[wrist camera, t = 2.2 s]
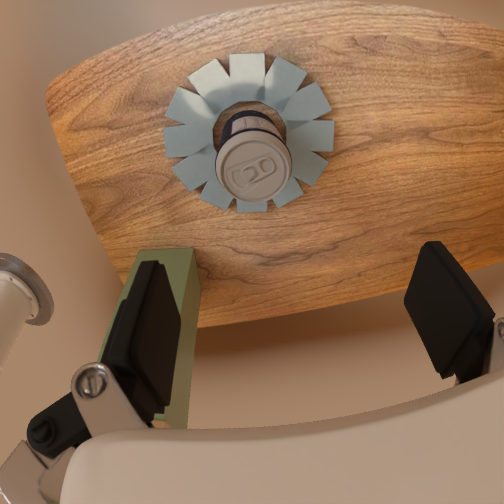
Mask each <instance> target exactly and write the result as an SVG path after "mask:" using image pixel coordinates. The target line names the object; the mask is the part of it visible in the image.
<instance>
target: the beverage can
mask: <svg viewBox="0 0 504 504" xmlns="http://www.w3.org/2000/svg"><path fill="white" fill-rule="evenodd" d="M215 172H216V176H217V179H218V181H219V183H220V184H221V186H222V187H223V188H224V189H225V190H226V191H227V192H228V193H229V194H230V195H231V196H232V197H233V198H235V199H237V200H239V201H242V202H245V203H252V204H256V203H263V202H266V201H269V200H271V199H273V198H274V197H276V196H277V195H278V194H279V193H280V192H281V191H282V190H283V189H284V187H285V186H286V184H287V182H288V180H289V178H290V175H291V172H292V158H291V154H290V151H289V149H288V147H287V146H286V144H285V142H284V140H283V139H282V137H281V135H280V133H279V132H278V130H277V128H276V127H275V125H274V123H273V122H272V120H271V119H270V118H269V117H268V116H266V115H265V114H263V113H261V112H258V111H252V110H247V111H242V112H239V113H237V114H235V115H233V116H232V117H231V118H230V119H229V120H228V121H227V123H226V124H225V126H224V129H223V132H222V136H221V140H220V144H219V147H218V151H217V155H216V159H215Z"/></svg>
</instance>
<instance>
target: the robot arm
mask: <svg viewBox="0 0 504 504" xmlns="http://www.w3.org/2000/svg"><path fill="white" fill-rule="evenodd" d="M404 305H405V307H406V309H407V311H408V313H409V315H410V317H411V319H412V321H413V323H414V325H415V327H416V329H417V331H418V333H419V335H420V337H421V339H422V341H423V343H424V346H425V348H426V350H427V352H428V354H429V357H430V359H431V361H432V363H433V365H434V368H435V370H436V371H437V372H438V373H440V375H441V378H442V379H445V378H448V377H451V376H453V375H454V373H455V375H456V381H455V385H454V387H452V388H449V389H447V390H443V391H441V392H438V393H435V394H432V395H429V396H425V397H422V398H419V399H416V400H412V401H409V402H405V403H402V404H398V405H394V406H390V407H386V408H382V409H378V410H374V411H369V412H365V413H360V414H355V415H350V416H345V417H339V418H333V419H327V420H321V421H314V422H306V423H298V424H290V425H280V426H269V427H253V428H227V429H181V428H156V427H155V426H154V424H153V423H152V421H153V420H154V415H155V414H164V411H165V406H169V405H170V401H171V393H172V385H173V378H174V370H175V363H176V356H177V350H178V343H179V337H180V331H181V317H180V314H179V311H178V308H177V304H176V301H175V298H174V295H173V292H172V288H171V285H170V282H169V279H168V275H167V272H166V268H165V265H164V264H160V263H159V261H158V260H149V261H141V263H140V265H139V267H138V270H137V272H136V275H135V277H134V280H133V283H132V285H131V288H130V290H129V293H128V296H127V298H126V299H124V300H122V301H121V303H120V306H119V308H118V311H117V314H116V316H115V319H114V322H113V325H112V328H111V330H110V333H109V336H108V339H107V342H106V345H105V348H104V351H103V354H102V357H101V361H100V363H98V362H92V363H88V364H85V365H83V366H82V367H80V368H79V369H78V370H77V372H76V373H75V374H74V376H73V378H72V380H71V392H70V393H69V394H67V395H66V396H64V397H63V398H61V399H60V400H58V401H56V402H55V403H54V404H52V405H51V406H49V407H48V408H46V409H45V410H43V411H42V412H40V413H39V414H37V415H36V416H35V417H34V418H32V419H31V421H30V423H29V424H28V428H27V440H26V441H24V440H22V441H21V442H20V443H19V444H18V446H17V447H16V448H15V450H14V451H13V452H12V453H11V455H10V456H9V457H8V458H7V460H6V461H5V462H4V464H3V465H2V466H1V468H0V493H1V494H2V496H3V497H4V499H5V500H6V501H7V502H8V504H504V318H499V319H497V320H496V322H495V323H494V322H493V318H494V317H495V313H494V312H493V310H492V308H491V307H490V305H489V304H488V302H487V301H486V299H485V298H484V297H483V295H482V294H481V292H480V291H479V290H478V288H477V287H476V285H475V284H474V283H473V281H472V280H471V279H470V278H469V276H468V275H467V273H466V272H465V271H464V270H463V268H462V267H461V266H460V264H459V263H458V262H457V261H456V259H455V258H454V257H453V256H452V254H451V253H450V252H449V251H448V250H447V248H446V247H445V246H444V245H443V244H442V243H441V242H440V241H429V242H426V243H425V244H424V246H422V247H421V249H420V253H419V256H418V259H417V262H416V265H415V268H414V271H413V274H412V277H411V280H410V283H409V286H408V289H407V292H406V294H405V297H404ZM38 312H39V303H38V301H37V298H36V296H35V294H34V293H33V291H32V290H31V289H30V288H29V286H28V285H27V284H26V283H25V282H24V281H23V280H22V279H20V278H19V277H18V276H16V275H15V274H13V273H11V272H8V271H3V270H1V271H0V373H1V370H2V368H3V366H4V364H5V362H6V359H7V357H8V355H9V353H10V351H11V349H12V346H13V344H14V343H15V341H16V338H17V337H18V335H19V333H20V331H21V329H22V327H23V325H24V323H25V321H26V320H27V319H34V318H35V317H36V316H37V314H38Z"/></svg>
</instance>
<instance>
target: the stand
mask: <svg viewBox="0 0 504 504" xmlns="http://www.w3.org/2000/svg"><path fill="white" fill-rule="evenodd" d="M149 260H158V261H159V263H160V264H164V265H165V268H166V272H167V275H168V279H169V282H170V285H171V288H172V292H173V295H174V298H175V301H176V304H177V308H178V311H179V314H180V317H181V331H180V337H179V343H178V350H177V356H176V363H175V370H174V378H173V385H172V393H171V401H170V405H169V406H165V411H164V414H155V415H154V420H153V421H152V423H153V424H154V426H155V427H156V428H181V429H187V422H188V409H189V397H190V387H191V377H192V367H193V357H194V348H195V339H196V330H197V322H198V314H199V306H200V298H201V291H202V290H201V285H200V280H199V274H198V269H197V263H196V258H195V252H194V248H175V249H155V250H140V251H139V253H138V255H137V257H136V260H135V262H134V264H133V267H132V269H131V271H130V274H129V276H128V278H127V281H126V283H125V286H124V288H123V291H122V293H121V296H120V298H119V301H118V303H117V306H116V309H115V311H114V314H113V316H112V319H111V322H110V324H109V327H108V330H107V333H106V336H105V338H104V341H103V344H102V347H101V350H100V353H99V356H98V360H97V362H98V363H100V361H101V357H102V354H103V351H104V348H105V345H106V342H107V339H108V336H109V333H110V330H111V328H112V325H113V322H114V319H115V316H116V314H117V311H118V308H119V306H120V303H121V301H122V300H124V299H126V298H127V296H128V293H129V290H130V288H131V285H132V283H133V280H134V277H135V275H136V272H137V270H138V267H139V265H140V263H141V261H149Z"/></svg>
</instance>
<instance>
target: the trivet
mask: <svg viewBox="0 0 504 504" xmlns="http://www.w3.org/2000/svg"><path fill="white" fill-rule="evenodd" d="M229 72H230V76H229V74H228V73H227V72H226V70H225V69H224V67H223V66H222V65H221V63H220V62H219V60H218V59H217V58H215V59H214V60H212V61H210V62H209V63H207V64H206V65H204V66H202V67H201V68H199V69H198V70H196V71H195V72H193V73H192V74H190V75H189V76H187V78H188V80H189V81H190V82H191V84H192V85H193V86H194V88H195V89H196V90H197V92H198V93H199V94H198V93H196V92H194V91H191V90H189V89H186V88H184V87H181V86H179V87H178V88H177V91H176V93H175V95H174V97H173V99H172V101H171V103H170V105H169V108H168V110H167V112H166V114H165V117H168V118H170V119H173V120H175V121H177V122H180V123H182V124H178V125H170V126H165V127H164V128H163V132H164V140H165V148H166V155H167V158H175V157H185V156H186V157H185V158H184V159H182V160H181V161H179V162H178V163H176V164H175V165H174V166H173V167H172V170H173V171H174V173H175V174H176V175H177V176H178V178H179V179H180V180H181V181H182V183H183V184H184V185H185V186H186V188H187V189H188V190H189V191H190V192H191V191H193V190H194V189H196V188H197V187H199V186H200V185H202V184H203V183H205V182H206V181H207V182H206V184H205V186H204V188H203V190H202V192H201V194H200V197H199V199H201V200H203V201H205V202H208V203H210V204H212V205H214V206H217V207H219V208H221V209H224V210H227V209H228V207H229V205H230V203H231V202H232V200H233V197H232V196H231V195H230V194H229V193H228V192H227V191H226V190H225V189H224V188H223V187H222V186H221V184H220V183H219V181H218V179H217V176H216V172H215V159H216V155H217V151H218V150H217V148H216V147H215V146H214V133H213V127H214V125H215V123H216V121H217V119H218V118H219V116H220V114H221V112H223V111H224V110H226V109H227V108H229V107H231V106H232V105H234V104H236V103H237V102H246V101H260V102H261V103H263V104H265V105H267V106H269V107H271V108H273V109H275V110H276V111H277V112H278V114H279V116H280V117H281V119H282V121H283V122H284V124H285V144H286V146H287V147H288V149H289V151H290V154H291V158H292V172H291V175H290V178H289V180H288V182H287V184H286V186H285V187H284V189H283V190H282V191H281V192H280V193H279V194H278V195H277V196H276V197H274V198H273V199H272V200H273V201H274V203H275V205H276V206H277V208H280V207H282V206H283V205H285V204H287V203H289V202H291V201H293V200H295V199H296V198H298V197H300V196H302V195H304V192H303V190H302V188H301V187H300V185H299V183H298V182H297V180H296V178H297V179H299V180H301V181H303V182H304V183H306V184H308V185H310V186H312V187H313V186H314V184H315V183H316V181H317V180H318V178H319V177H320V175H321V174H322V172H323V171H324V169H325V168H326V166H327V165H328V163H329V161H328V160H327V159H325V158H324V157H322V156H320V155H319V154H317V153H315V152H314V151H323V152H333V143H334V126H335V121H333V120H328V119H316V118H318V117H320V116H321V115H323V114H325V113H327V112H329V111H331V110H332V109H331V107H330V105H329V103H328V101H327V99H326V97H325V96H324V94H323V92H322V90H321V88H320V87H319V85H318V83H317V82H315V81H314V82H312V83H310V84H308V85H306V86H304V87H302V88H300V89H298V88H299V86H300V85H301V83H302V81H303V80H304V78H305V77H306V75H307V74H308V73H307V72H306V71H304V70H302V69H301V68H299V67H297V66H295V65H293V64H292V63H290V62H288V61H286V60H284V59H283V58H281V57H279V56H277V57H276V58H275V59H274V61H273V63H272V64H271V66H270V68H269V69H268V71H267V72H266V74H265V53H237V54H229ZM297 89H298V90H297ZM236 201H237V213H244V212H267V201H266V202H263V203H256V204H252V203H245V202H242V201H239V200H237V199H236Z"/></svg>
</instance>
